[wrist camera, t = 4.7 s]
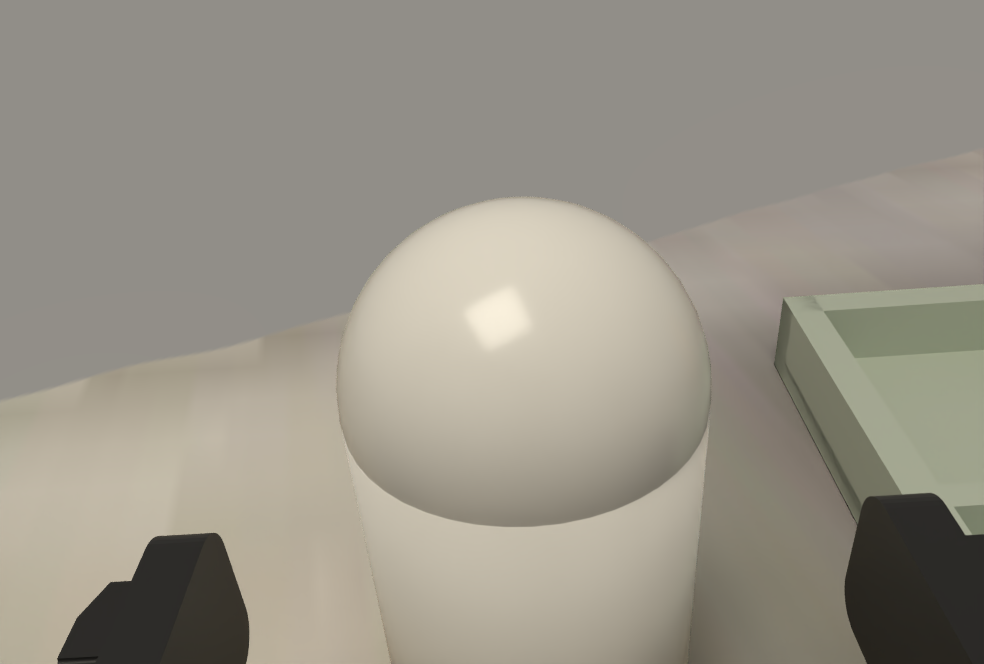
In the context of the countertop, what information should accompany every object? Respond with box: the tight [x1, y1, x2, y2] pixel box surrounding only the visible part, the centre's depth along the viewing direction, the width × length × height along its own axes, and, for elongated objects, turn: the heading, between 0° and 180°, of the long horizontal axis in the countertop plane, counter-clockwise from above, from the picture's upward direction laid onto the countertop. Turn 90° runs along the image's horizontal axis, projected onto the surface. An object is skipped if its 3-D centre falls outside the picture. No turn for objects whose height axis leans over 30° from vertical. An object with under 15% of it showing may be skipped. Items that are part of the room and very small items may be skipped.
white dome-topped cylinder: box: [336, 197, 711, 664], centre depth 13 cm, size 5×5×10 cm
